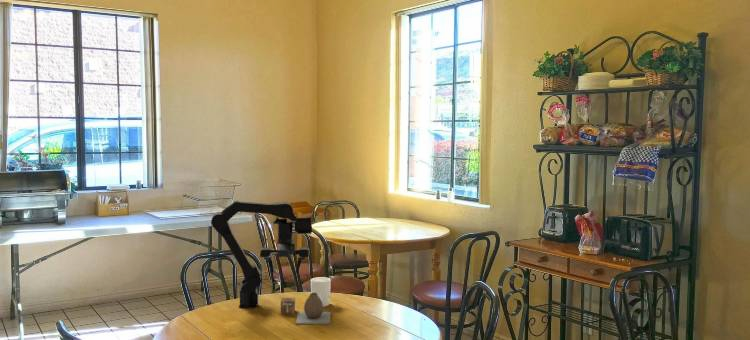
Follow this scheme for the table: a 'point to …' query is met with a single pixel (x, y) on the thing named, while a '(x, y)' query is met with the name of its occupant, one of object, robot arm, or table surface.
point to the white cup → (321, 288)
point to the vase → (313, 306)
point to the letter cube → (287, 305)
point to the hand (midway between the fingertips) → (285, 273)
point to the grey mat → (305, 320)
